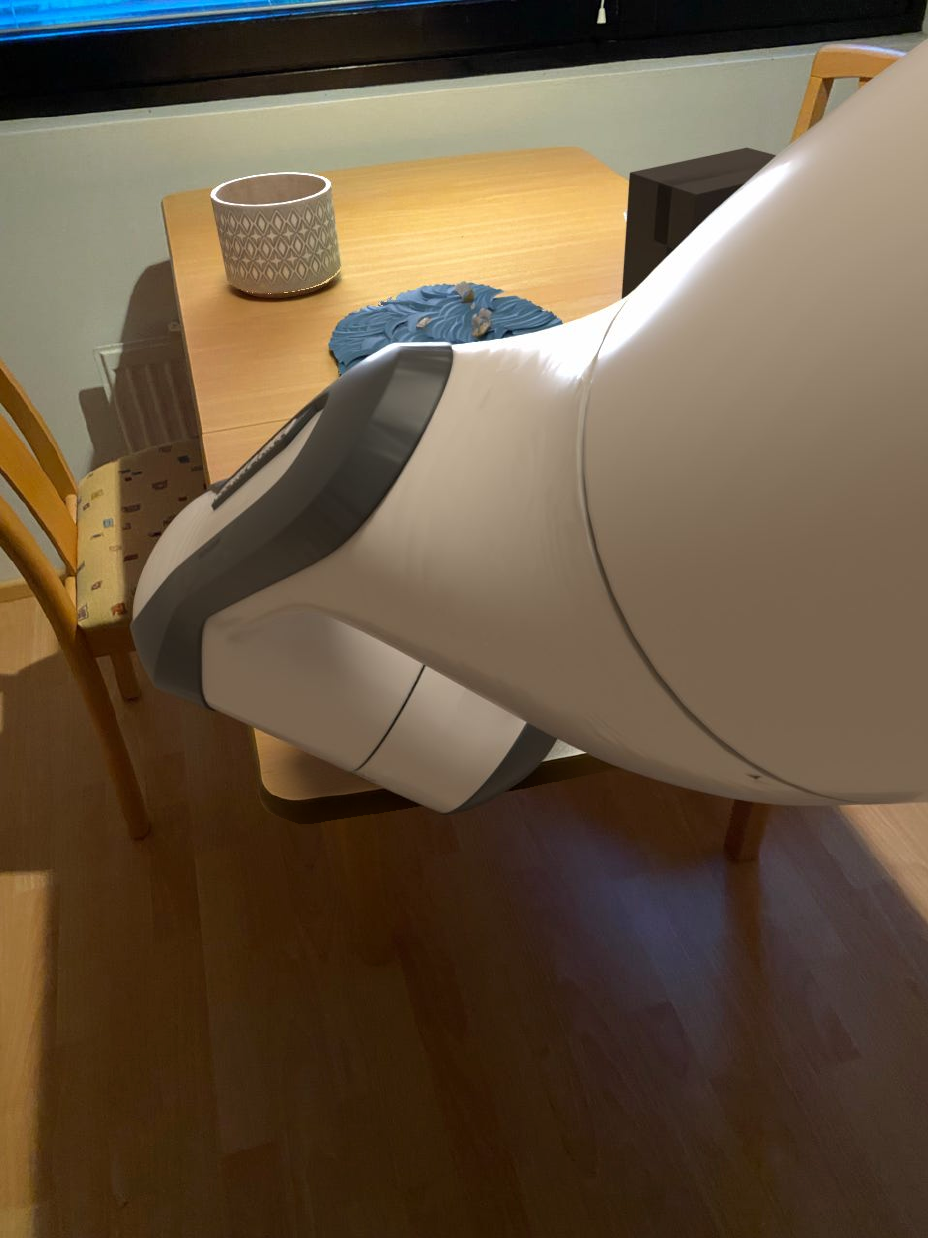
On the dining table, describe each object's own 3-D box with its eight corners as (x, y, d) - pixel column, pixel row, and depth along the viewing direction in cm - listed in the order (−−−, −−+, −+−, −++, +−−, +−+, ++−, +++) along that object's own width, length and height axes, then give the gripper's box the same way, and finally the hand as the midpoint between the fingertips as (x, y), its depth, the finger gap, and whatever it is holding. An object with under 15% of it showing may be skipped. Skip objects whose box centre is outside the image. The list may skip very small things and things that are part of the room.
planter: (327, 255, 143) (315, 166, 135) (355, 290, 131) (344, 194, 123) (220, 273, 139) (201, 182, 131) (239, 310, 127) (220, 212, 119)
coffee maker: (847, 451, 91) (911, 190, 76) (738, 493, 86) (783, 223, 71) (714, 381, 104) (746, 146, 89) (613, 414, 99) (629, 172, 84)
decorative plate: (556, 411, 103) (558, 367, 99) (298, 396, 107) (291, 354, 104) (580, 300, 124) (582, 261, 121) (364, 292, 129) (360, 254, 125)
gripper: (295, 681, 47) (263, 703, 60) (619, 552, 55) (528, 597, 68) (249, 567, 48) (227, 613, 60) (577, 454, 55) (495, 517, 68)
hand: (388, 604), depth 64 cm, fingers open, 8 cm apart
